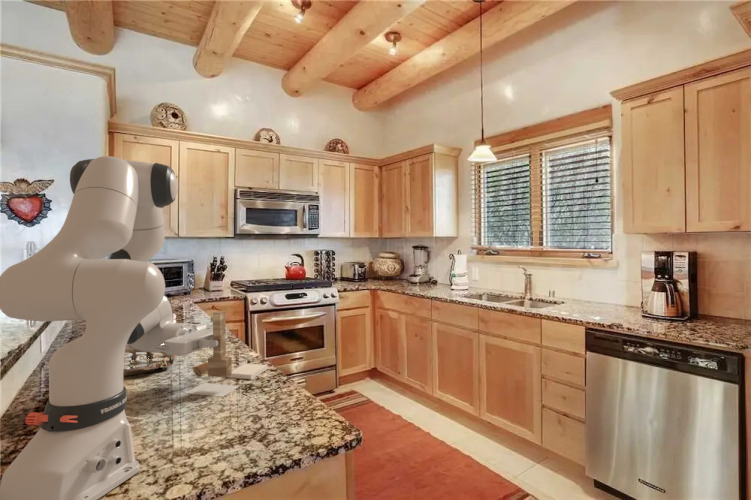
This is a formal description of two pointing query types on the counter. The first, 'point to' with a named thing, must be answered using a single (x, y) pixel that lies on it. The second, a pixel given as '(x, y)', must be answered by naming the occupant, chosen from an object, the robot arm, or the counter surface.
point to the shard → (201, 369)
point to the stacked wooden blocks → (219, 349)
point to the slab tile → (248, 371)
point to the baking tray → (145, 361)
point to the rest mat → (212, 389)
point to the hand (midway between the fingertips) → (222, 341)
